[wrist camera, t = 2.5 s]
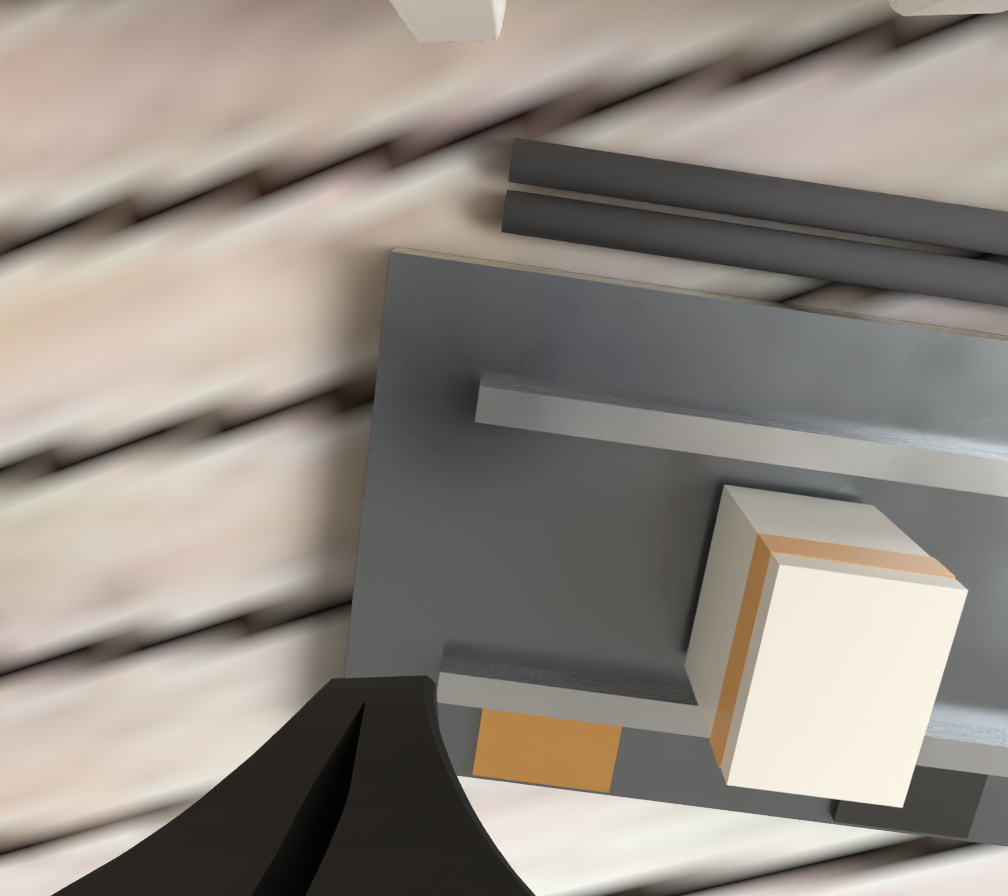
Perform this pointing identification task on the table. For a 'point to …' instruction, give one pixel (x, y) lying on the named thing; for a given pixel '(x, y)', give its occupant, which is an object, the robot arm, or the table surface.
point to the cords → (760, 202)
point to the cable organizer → (481, 6)
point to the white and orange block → (818, 646)
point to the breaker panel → (658, 518)
